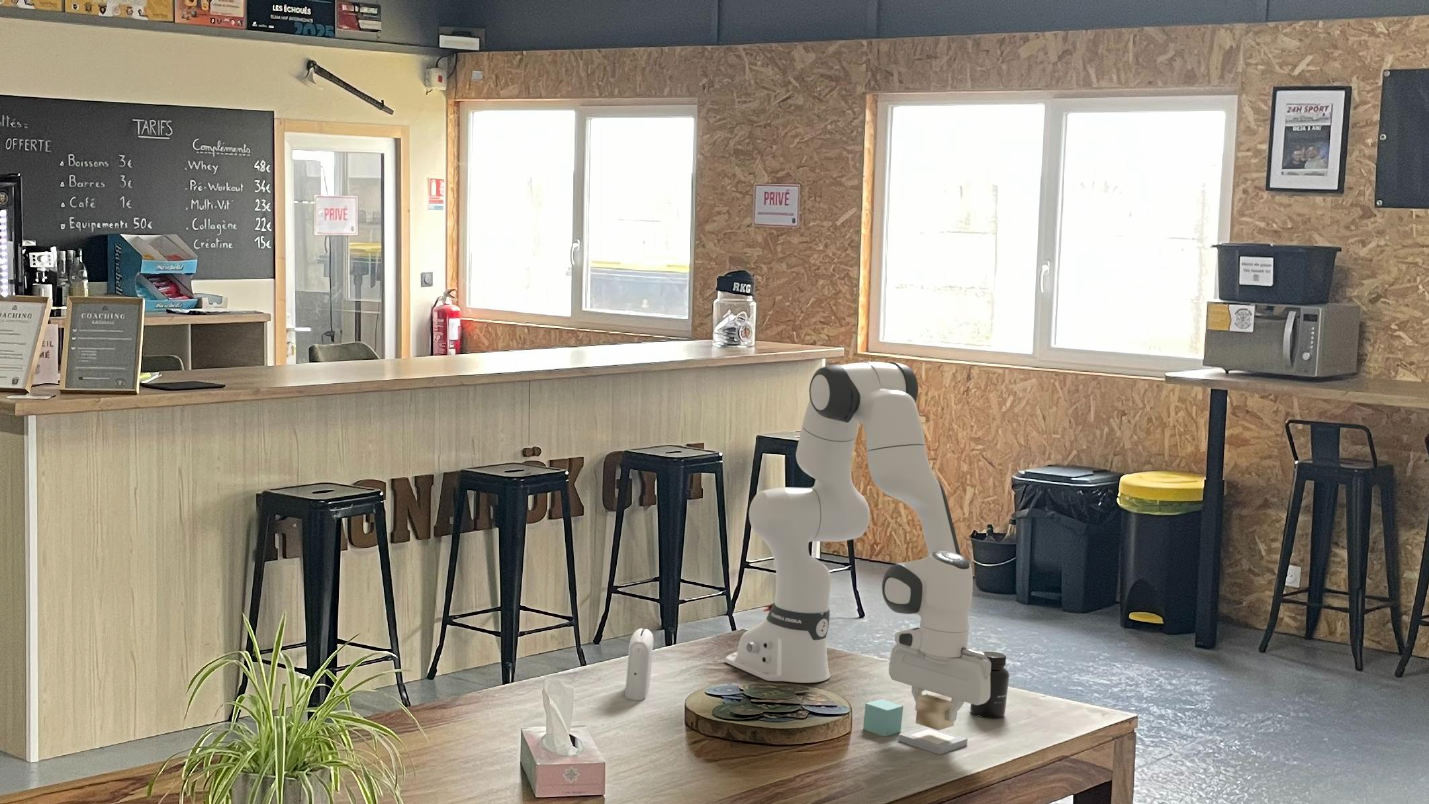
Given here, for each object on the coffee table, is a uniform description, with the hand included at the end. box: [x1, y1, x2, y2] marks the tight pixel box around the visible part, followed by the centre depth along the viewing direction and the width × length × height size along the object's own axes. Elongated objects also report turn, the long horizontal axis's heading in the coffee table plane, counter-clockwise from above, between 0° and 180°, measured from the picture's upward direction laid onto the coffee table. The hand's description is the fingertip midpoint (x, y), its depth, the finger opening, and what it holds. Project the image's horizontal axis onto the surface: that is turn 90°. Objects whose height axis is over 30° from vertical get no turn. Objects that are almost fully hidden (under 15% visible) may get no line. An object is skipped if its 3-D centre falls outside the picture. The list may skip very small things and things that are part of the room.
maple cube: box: [915, 692, 955, 731], centre depth 289 cm, size 5×5×5 cm
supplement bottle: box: [969, 650, 1010, 719], centre depth 310 cm, size 7×7×12 cm
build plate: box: [898, 726, 968, 755], centre depth 290 cm, size 9×9×1 cm
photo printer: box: [624, 628, 654, 701], centre depth 305 cm, size 10×4×12 cm, turn 177°
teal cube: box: [862, 698, 904, 737], centre depth 295 cm, size 5×5×5 cm
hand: (935, 716), depth 289 cm, fingers closed on maple cube, 5 cm apart
